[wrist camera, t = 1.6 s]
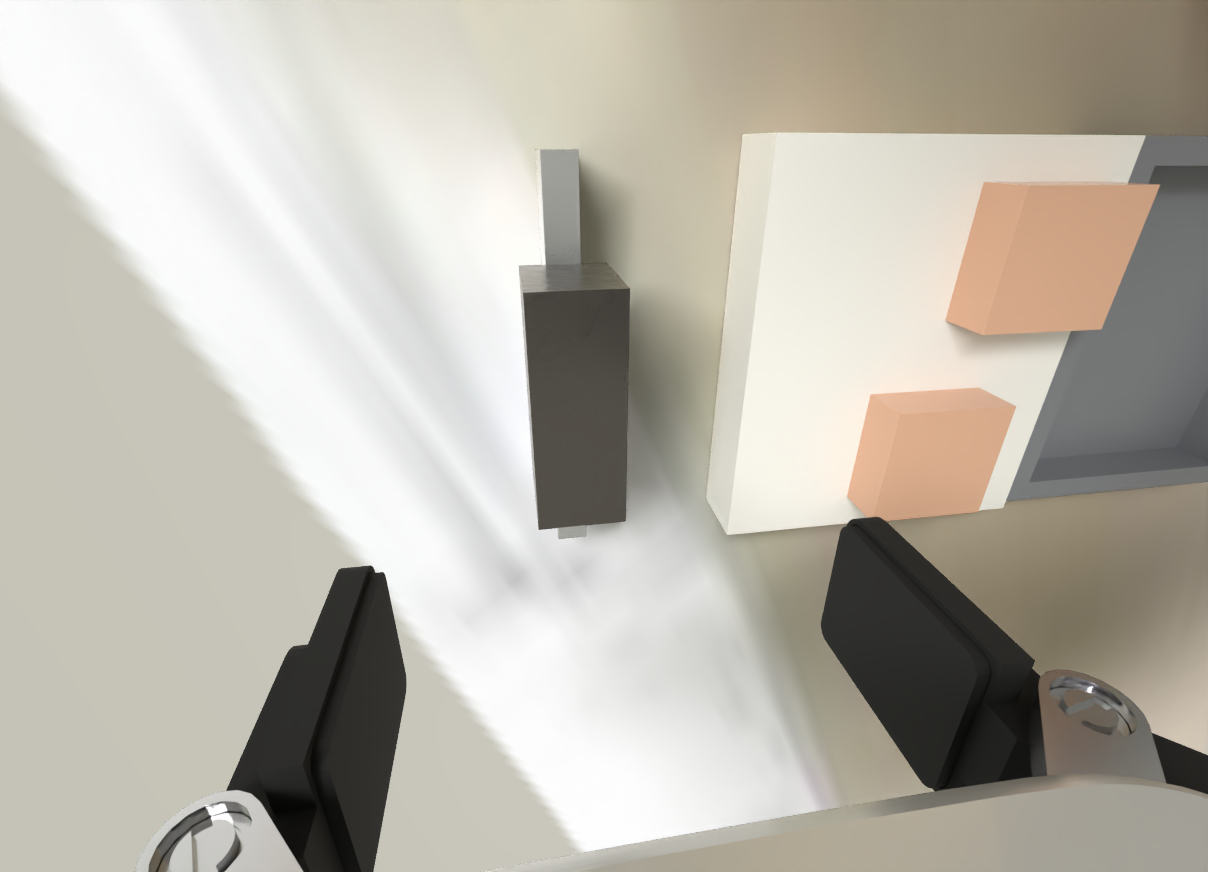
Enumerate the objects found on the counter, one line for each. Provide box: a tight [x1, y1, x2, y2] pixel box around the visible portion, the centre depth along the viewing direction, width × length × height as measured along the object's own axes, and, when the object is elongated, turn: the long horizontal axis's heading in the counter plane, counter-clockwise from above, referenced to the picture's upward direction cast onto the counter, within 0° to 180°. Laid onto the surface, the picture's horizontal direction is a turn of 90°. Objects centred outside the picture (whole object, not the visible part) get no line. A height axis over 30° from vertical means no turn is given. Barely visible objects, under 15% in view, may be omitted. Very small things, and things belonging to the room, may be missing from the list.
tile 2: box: [945, 181, 1160, 335], centre depth 21 cm, size 5×5×2 cm
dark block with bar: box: [519, 149, 630, 539], centre depth 21 cm, size 15×3×7 cm, turn 0°
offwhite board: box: [706, 133, 1146, 535], centre depth 24 cm, size 16×14×3 cm
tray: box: [1006, 136, 1208, 501], centre depth 27 cm, size 16×13×2 cm
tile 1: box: [847, 388, 1016, 521], centre depth 24 cm, size 5×5×2 cm
